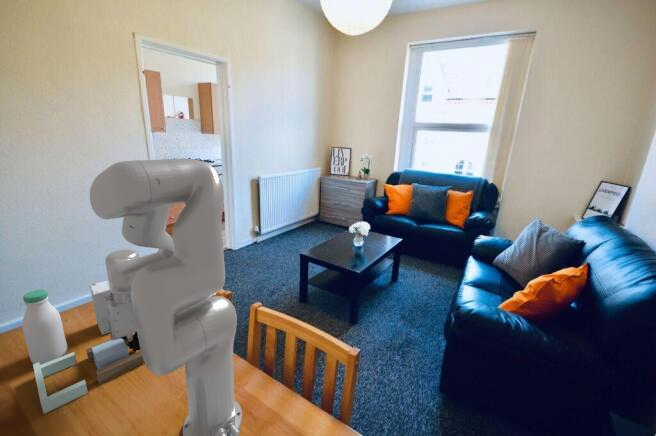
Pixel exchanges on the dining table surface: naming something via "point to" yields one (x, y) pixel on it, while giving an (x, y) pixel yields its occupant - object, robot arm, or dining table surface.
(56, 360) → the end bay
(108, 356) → the block
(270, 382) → the dining table surface
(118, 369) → the brown parallel rails
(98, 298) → the skincare box
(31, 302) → the milk bottle
